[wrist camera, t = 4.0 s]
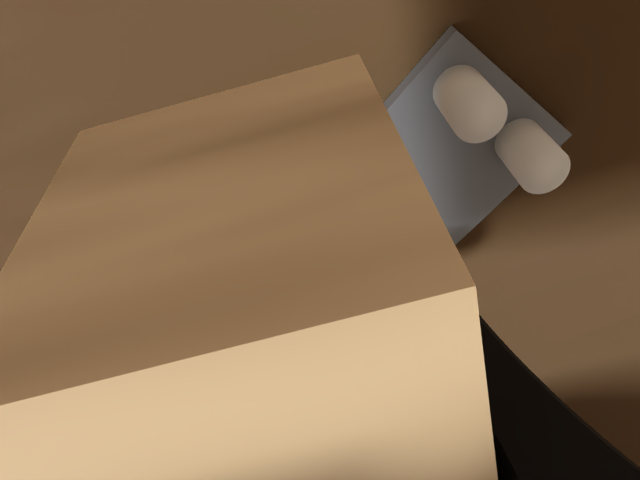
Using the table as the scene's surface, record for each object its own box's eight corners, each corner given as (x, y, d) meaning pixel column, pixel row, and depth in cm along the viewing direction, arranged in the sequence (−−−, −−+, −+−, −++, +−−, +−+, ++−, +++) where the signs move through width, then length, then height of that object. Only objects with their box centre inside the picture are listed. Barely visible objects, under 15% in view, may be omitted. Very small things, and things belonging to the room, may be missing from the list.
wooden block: (431, 408, 14) (521, 692, 9) (249, 452, 14) (250, 750, 9) (358, 54, 9) (475, 286, 4) (79, 130, 9) (-89, 427, 5)
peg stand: (565, 127, 18) (604, 164, 16) (399, 286, 21) (414, 333, 19) (451, 24, 16) (480, 53, 14) (284, 217, 19) (289, 263, 17)
